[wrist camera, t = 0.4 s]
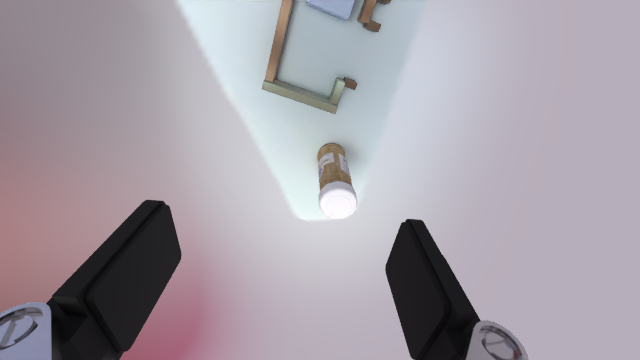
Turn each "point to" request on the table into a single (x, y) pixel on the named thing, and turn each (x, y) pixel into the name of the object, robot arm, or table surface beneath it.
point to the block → (333, 7)
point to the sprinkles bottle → (335, 183)
